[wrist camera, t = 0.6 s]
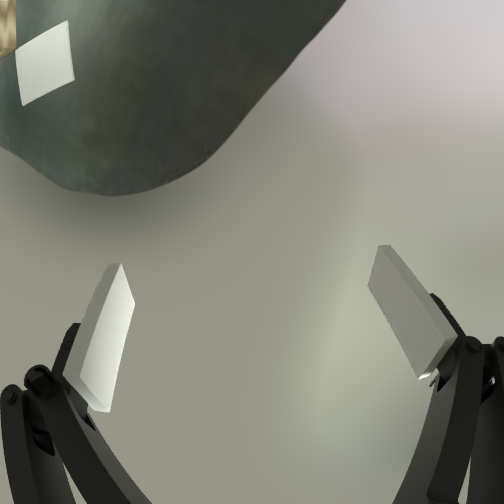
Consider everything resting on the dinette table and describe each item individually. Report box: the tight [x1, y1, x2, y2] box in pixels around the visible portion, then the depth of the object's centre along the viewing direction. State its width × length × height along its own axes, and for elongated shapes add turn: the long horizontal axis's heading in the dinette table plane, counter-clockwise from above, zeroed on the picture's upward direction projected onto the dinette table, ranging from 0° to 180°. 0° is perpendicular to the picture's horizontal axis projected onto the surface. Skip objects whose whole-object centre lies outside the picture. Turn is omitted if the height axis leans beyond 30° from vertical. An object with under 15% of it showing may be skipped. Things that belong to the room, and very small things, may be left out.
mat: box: [15, 21, 75, 106], centre depth 24 cm, size 10×10×1 cm
